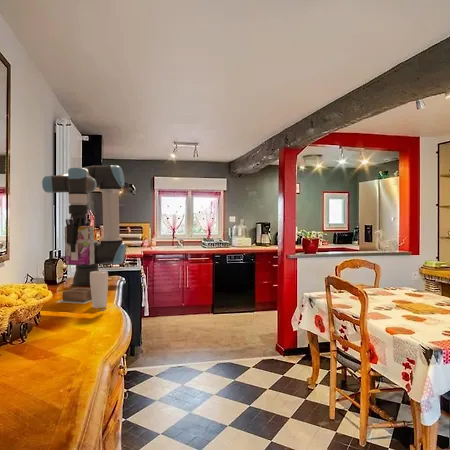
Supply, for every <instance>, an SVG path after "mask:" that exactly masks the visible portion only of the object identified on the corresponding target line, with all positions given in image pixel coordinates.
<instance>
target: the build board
mask: <svg viewBox="0 0 450 450" xmlns="http://www.w3.org/2000/svg"><path fill="white" fill-rule="evenodd" d="M90 302H91V303H92V299H90V300H88V301H85V302H74V301H63V299H60V300H58V301H56V303H66V304H67V303H68V304H81V305H82V304H88V303H90Z"/></svg>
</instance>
